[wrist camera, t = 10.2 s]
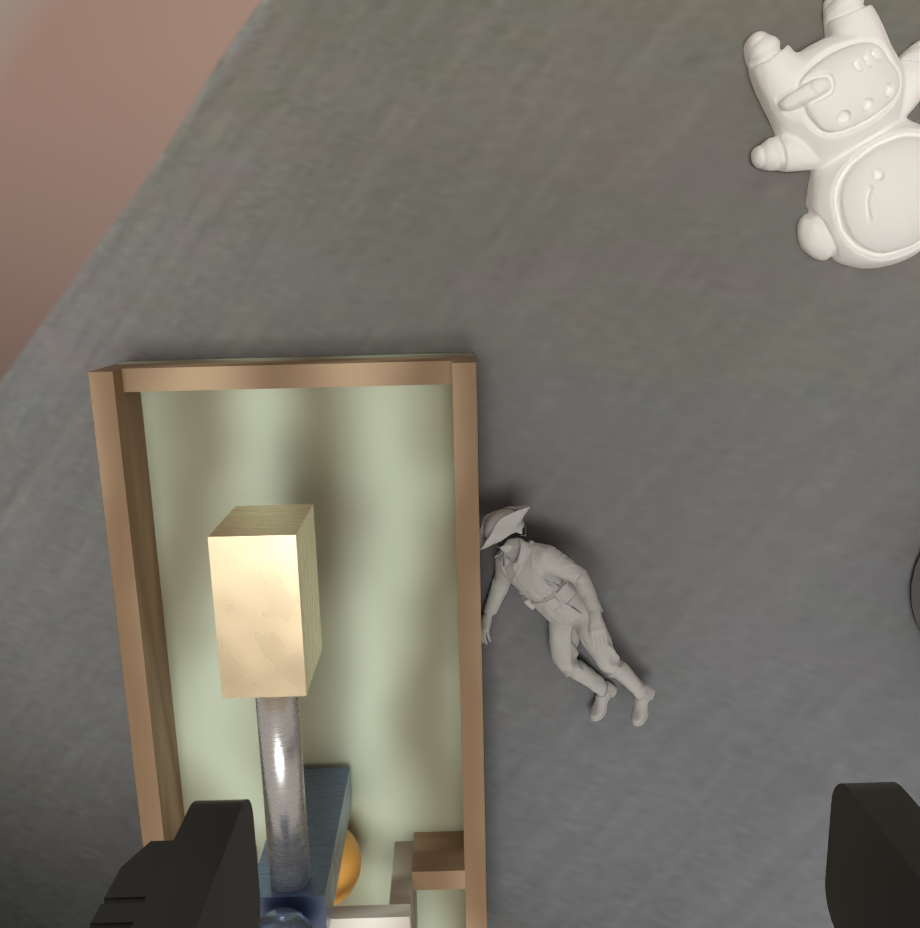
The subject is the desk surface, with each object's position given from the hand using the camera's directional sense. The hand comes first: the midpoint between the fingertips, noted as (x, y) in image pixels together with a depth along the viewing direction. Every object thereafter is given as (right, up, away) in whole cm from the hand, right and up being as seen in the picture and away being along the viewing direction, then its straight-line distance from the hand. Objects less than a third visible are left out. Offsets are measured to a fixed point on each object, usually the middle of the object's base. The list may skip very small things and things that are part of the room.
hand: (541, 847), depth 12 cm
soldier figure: (+4, -2, +32) cm, 32 cm away
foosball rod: (-8, -3, +29) cm, 31 cm away
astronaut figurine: (+16, +20, +27) cm, 37 cm away
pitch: (-8, -4, +32) cm, 33 cm away
